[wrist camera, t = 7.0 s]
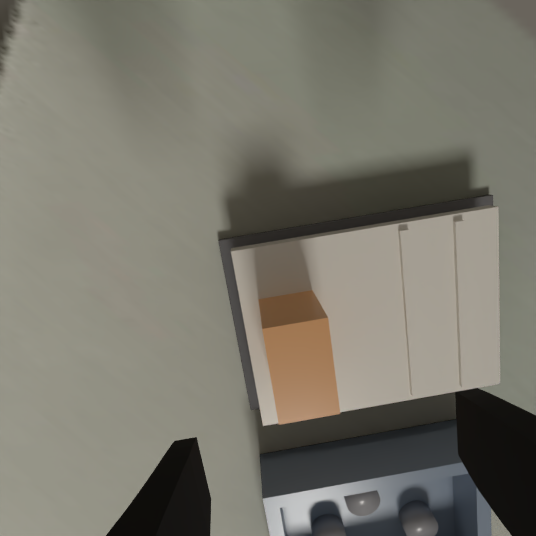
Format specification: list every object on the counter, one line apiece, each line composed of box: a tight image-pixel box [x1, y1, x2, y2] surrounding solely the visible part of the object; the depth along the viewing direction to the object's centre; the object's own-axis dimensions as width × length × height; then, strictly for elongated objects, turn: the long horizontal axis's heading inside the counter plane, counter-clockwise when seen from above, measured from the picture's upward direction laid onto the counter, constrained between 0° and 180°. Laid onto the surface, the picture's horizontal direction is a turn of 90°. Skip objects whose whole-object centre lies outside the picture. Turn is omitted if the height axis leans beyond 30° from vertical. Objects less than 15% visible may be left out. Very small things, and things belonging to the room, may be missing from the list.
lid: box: [231, 205, 500, 426], centre depth 17 cm, size 12×9×5 cm
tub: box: [260, 419, 491, 536], centre depth 22 cm, size 11×8×3 cm
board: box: [219, 195, 493, 410], centre depth 20 cm, size 13×9×1 cm
